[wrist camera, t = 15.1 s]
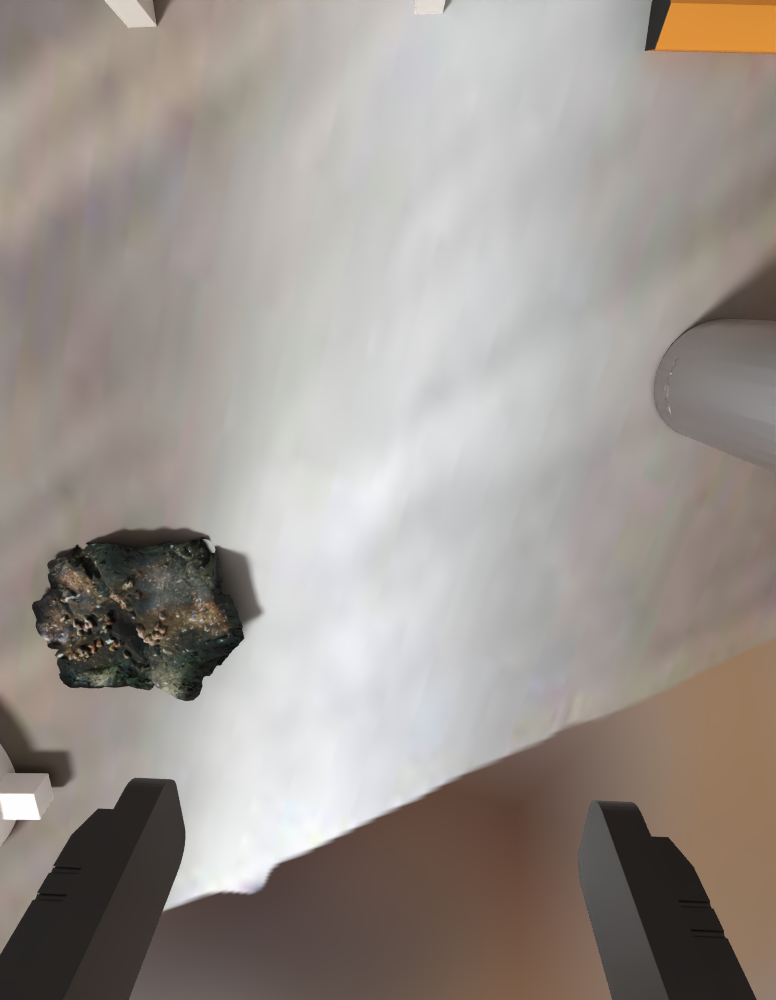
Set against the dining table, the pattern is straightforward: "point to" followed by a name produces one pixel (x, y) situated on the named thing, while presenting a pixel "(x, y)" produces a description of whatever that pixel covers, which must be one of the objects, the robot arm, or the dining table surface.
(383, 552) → the dining table surface
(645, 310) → the dining table surface
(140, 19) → the white four-legged frame
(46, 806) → the ring with crossbar
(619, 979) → the robot arm
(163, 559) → the decorative rock
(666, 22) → the pan flute
